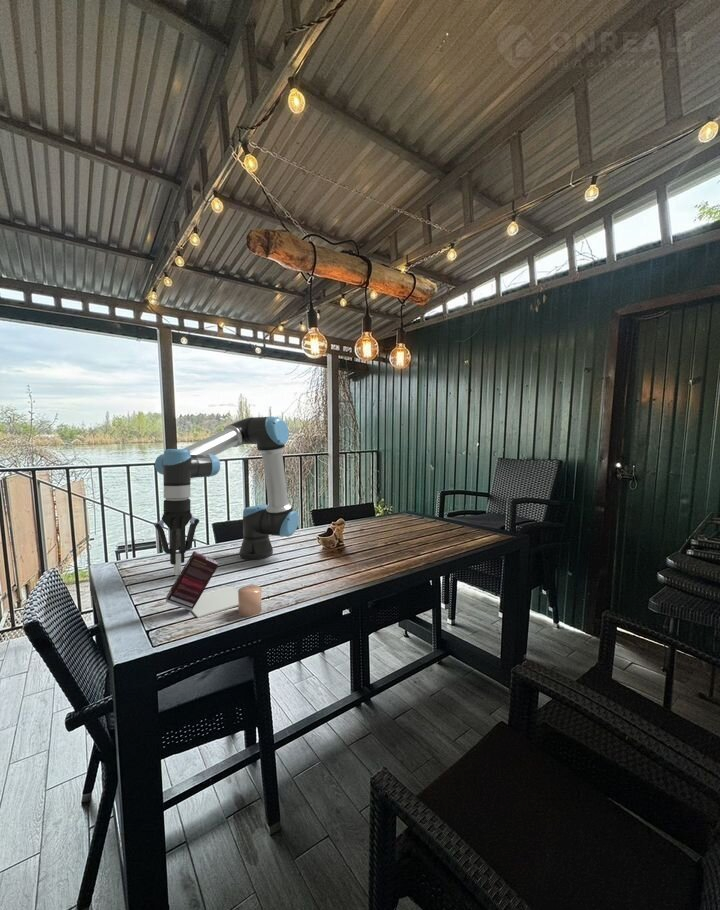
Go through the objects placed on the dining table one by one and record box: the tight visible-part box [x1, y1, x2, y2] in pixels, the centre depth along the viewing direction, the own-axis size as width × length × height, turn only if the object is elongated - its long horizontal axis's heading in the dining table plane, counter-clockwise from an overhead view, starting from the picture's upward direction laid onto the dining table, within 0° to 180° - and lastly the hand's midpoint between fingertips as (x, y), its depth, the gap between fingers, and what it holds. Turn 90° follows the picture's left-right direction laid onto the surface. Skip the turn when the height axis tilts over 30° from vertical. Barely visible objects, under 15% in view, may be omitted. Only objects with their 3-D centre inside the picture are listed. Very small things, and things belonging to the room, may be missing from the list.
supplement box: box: [165, 550, 220, 612], centre depth 117 cm, size 9×5×16 cm
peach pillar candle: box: [237, 584, 262, 617], centre depth 117 cm, size 7×7×7 cm
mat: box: [191, 585, 238, 619], centre depth 124 cm, size 17×16×1 cm
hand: (177, 573), depth 115 cm, fingers closed
